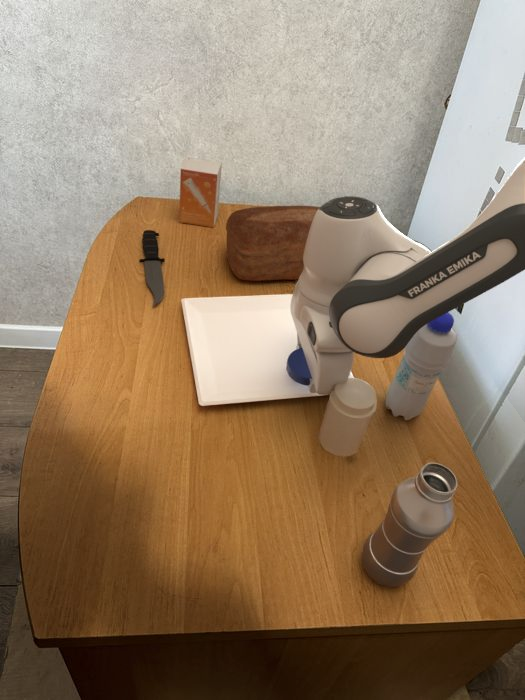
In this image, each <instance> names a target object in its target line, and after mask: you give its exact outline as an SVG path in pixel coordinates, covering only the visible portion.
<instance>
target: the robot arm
mask: <svg viewBox="0 0 525 700" xmlns="http://www.w3.org/2000/svg"><path fill="white" fill-rule="evenodd" d="M319 207H320V208H319V209H318V211H317V212H316V214H315V216H314V219H313V221H312V224H311V227H310V230H309V234H308V237H307V241H306V245H305V250H304V254H303V263H304V269H303V271H302V273H301V275H300V277H299V279H297V282H296V283H295V286H294V289H293V292H292V294H293V295H292V299H291V304H290V311H291V315H292V318H293V321H294V324H295V327H296V330H297V346H296V349H300V348H302V349H303V352H304V355H305V358H306V361H307V364H308V367H309V370H310V373H311V376H312V379H309V383H308V387H309V391H310V392H311V393H318V394H320V395H322V396H330V394H331V391H334V388H335V385H337V384H339V383H346V382H347V380H348V377H349V374H350V371H351V372H352V368H353V364H354V357H355V354H357V355H359V356H362V357H366V358H371V359H388V358H392V357H394V356H396V355H398V354H399V353H401V352H402V351H404V348H405V347H406V345H407V344H408V343H409V341H410V340H411V338H412V337H413V336H414V335H415V334H416V332H417V331H418V330H419V329H421V328H422V327H423V326H425V325H426V324H428V323H429V322H431V321H433V320H434V319H436V318H438V317H440V316H442V315H444V314H446V313H447V312H448V313H450V312H451V311H453V310H455V309H457V308H459V307H461V306H463V305H464V304H466V303H468V302H469V301H471V300H474V299H475V298H477V297H479V296H481V295H483V294H485V293H486V292H489V291H490V290H492V289H494V288H497V286H499V285H501V284H503V283H505V282H506V281H508V280H510V279H511V278H513V277H515V276H517V275H518V274H521V272H523V271H525V157H524V158H523V159H522V160H520V162H519V163H518V164H517V165H516V166H515V168H514V169H513V171H512V172H511V173H510V175H509V176H508V177H507V179H506V180H505V182H504V183H503V185H501V187H500V189H499V190H498V191H497V193H496V194H495V195H494V197H493V198H492V199H491V200H490V202H489V203H488V204H487V206H486V207H485V208H484V209H483V210H482V211H481V213H480V214H479V215H478V216H477V217H476V218H475V219H474V220H473V222H471V223H470V224H469V225H468V226H467V227H466V228H465V229H464V230H463V231H461V232H460V233H459V234H457V235H456V236H455V237H453V238H452V239H450V240H448V241H447V242H445V243H443V244H442V245H441V246H439V247H438V248H436V249H434V250H431V249H430V248H429V247H428V246H427V245H426V244H424V243H422V242H420V241H418V240H415V239H411V238H409V237H408V236H406V235H405V234H403V233H402V232H401V231H399V230H398V229H397V228H396V227H394V226H393V225H392V224H391V223H390V222H389V221H388V219H386V217H385V216H384V214H383V213H382V211H381V209H380V207H379V206H378V204H376V203H375V202H373V201H371V200H370V199H367V198H365V197H360V196H353V195H347V196H346V195H345V196H340V197H335V198H332V199H330V200H327V201H326V202H325V203H324V204H322V205H321V206H319Z"/></svg>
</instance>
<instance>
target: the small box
mask: <svg viewBox="0 0 525 700" xmlns="http://www.w3.org/2000/svg"><path fill="white" fill-rule="evenodd" d="M222 165H223V163H222V162H220V161H215V160H208V159H203V158H194V157H188V156H185V159H184V161H183V163H182V165H181V167H180V176H179V179H180V180H179V181H180V182H179V221H178V222H179V224H181V223H183V224H188V225H195V226H201V227H208V228H212V229H213V228H215V225H216V222H217V218H218V215H219V208H220V207H219V205H220V193H221V180H222V179H221V178H222V168H223V167H222Z"/></svg>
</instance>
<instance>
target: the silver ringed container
mask: <svg viewBox="0 0 525 700" xmlns="http://www.w3.org/2000/svg"><path fill="white" fill-rule="evenodd" d="M457 487H458V479H457V477H456V475H455V473H454V472H453V471H452V469H450V468H449V467H448V466H446V465H444V464H443V463H439V462H428V463H426V464H424V465H423V466H422V467H421V468H420V470H419V472H418V473H417V474H416V476H414V477H413V476H412V477H409V478H406V479H404V480H403V481H401V482H399V484H397V485H396V486H395V488H394V489H393V492H392V494H391V497H390V500H389V504H388V508H387V511H386V514H385V515H384V518H383V520H382V522H381V524H379V526H378V527H377V529H375V530H374V531H373V532H372V533H371V534H370V535H369V536H368V537H367V538H366V539H365V541H364V543H363V546H362V550H361V563H362V566H363V568H364V570H365V573H367V575H368V577H370V578H371V579H372V580H373V581H374V582H375V583H377V584H379V585H381V586H384V587H387V588H398V587H401V586H403V585H405V584H407V583H408V582H409V581H411V580H412V579H413V578H414V577H415V574H416V572H417V571H418V567H419V563H420V560H421V558H422V557H423V555H424V552H426V550H427V549H428V548H429V547H430V546H431V544H432V543H433V542H434V541H436V540H437V539H438V538H439V537H441V536H442V535H443V534H445V533H446V531H448V529H449V528H451V525H452V524H453V521H454V516H455V505H454V502H453V500H452V499H453V497H454V494H455V492H456V490H457Z"/></svg>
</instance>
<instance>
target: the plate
mask: <svg viewBox="0 0 525 700" xmlns="http://www.w3.org/2000/svg"><path fill="white" fill-rule="evenodd" d="M292 295H293V293H283V294H282V293H281V294H260V295H259V294H258V295H257V294H256V295H234V296H233V295H231V296H205V297H184V298H182V299H180V302H181V306H182V313H183V318H184V324H185V330H186V336H187V343H188V348H189V354H190V360H191V365H192V371H193V372H192V373H193V377H194V383H195V388H196V394H197V400H198V405H200V406H202V407H205V406H216V405H227V404H228V405H229V404H241V403H251V402H263V401H275V400H286V399H297V398H309V397H321V396H323V395H320V394H318V393H311V392H310V391H309V387H308V386H306V385H302V384H299V383H297V382H295V381H294V380H293V379H292V378H291V377H290V376H289V375H288V373H287V370H286V367H287V359H288V357H289V355H290V354H291V353H292V352H293V351H294V350H297V349H296V346H297V330H296V327H295V324H294V321H293V318H292V315H291V311H290V304H291V299H292ZM348 378H355V376H354V374H353V372H352V370H351V371H350V374H349V377H348Z"/></svg>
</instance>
